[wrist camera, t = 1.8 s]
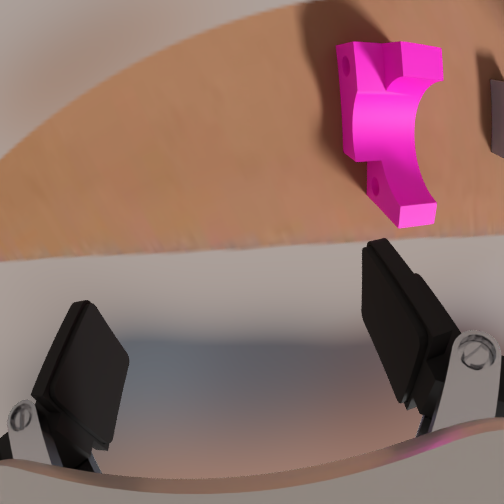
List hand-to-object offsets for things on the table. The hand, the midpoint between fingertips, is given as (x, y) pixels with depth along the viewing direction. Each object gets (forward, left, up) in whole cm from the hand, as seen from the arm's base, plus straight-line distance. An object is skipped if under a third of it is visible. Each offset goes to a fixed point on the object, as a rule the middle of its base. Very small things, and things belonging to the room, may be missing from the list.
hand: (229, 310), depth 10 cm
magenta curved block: (-14, 0, -21) cm, 25 cm away
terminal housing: (-32, -1, -20) cm, 38 cm away
